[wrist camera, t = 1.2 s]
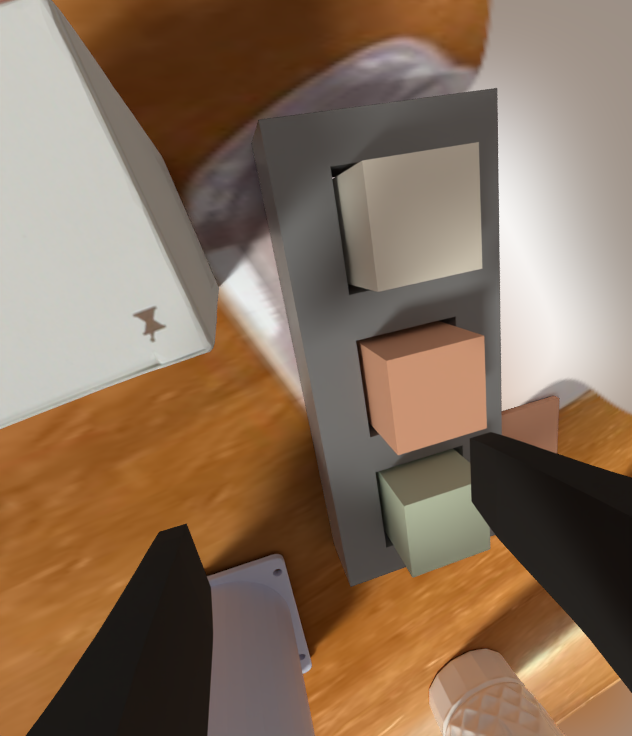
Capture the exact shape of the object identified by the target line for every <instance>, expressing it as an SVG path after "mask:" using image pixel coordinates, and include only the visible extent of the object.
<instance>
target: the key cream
mask: <svg viewBox="0 0 632 736" xmlns="http://www.w3.org/2000/svg"><path fill="white" fill-rule="evenodd" d="M332 181H333V188H334V195H335V202H336V208H337V215H338V222H339V229H340V236H341V242H342V249H343V256H344V263H345V270H346V276H347V283H348V284H350V285H354V286H358V287H361V288H365V289H369V290H373V291H376V292H380V291H384V290H389V289H393V288H398V287H402V286H407V285H411V284H416V283H420V282H425V281H429V280H434V279H438V278H443V277H447V276H451V275H456V274H460V273H465V272H469V271H474V270H478V269H482V237H481V202H480V167H479V142H476V143H470V144H463V145H457V146H451V147H444V148H438V149H432V150H426V151H419V152H413V153H407V154H400V155H394V156H388V157H382V158H375V159H369V160H363V161H361V162H359V163H357V164H356V165H354V166H353V167H351V168H349V169H348V170H346V171H345V172H343V173H341V174H340V175H338V176H337V177H335V178H333V179H332Z"/></svg>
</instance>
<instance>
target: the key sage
mask: <svg viewBox="0 0 632 736" xmlns="http://www.w3.org/2000/svg"><path fill="white" fill-rule="evenodd" d="M375 473H376V480H377V487H378V494H379V501H380V507H381V514H382V521H383V528H384V530H385V532H386V533H387V535H388V537H389V538H390V540H391V542H392V543H393V545H394V547H395V549H396V550H397V552H398V554H399V555H400V557H401V559H402V560H403V562H404V564H405V565H406V567H407V569H408V571H409V572H410V574H411V576H412V577H416V576H418V575H421V574H424V573H426V572H429V571H432V570H435V569H437V568H440V567H443V566H445V565H448V564H451V563H454V562H456V561H459V560H462V559H465V558H467V557H470V556H473V555H475V554H478V553H481V552H484V551H486V550H489V549H490V527H489V526H488V524H487V523H486V522H485V520H484V519H483V517H482V516H481V514H480V513H479V512H478V510H477V509H476V507H475V506H474V504H473V503H472V502H471V469H470V462H468V461H467V460H466V459H465V458H464V457H462V456H461V455H460V454H459V453H458V452H457V451H455V450H454V449H453V448H452V449H449V450H446V451H443V452H439V453H436V454H433V455H430V456H427V457H423V458H420V459H417V460H414V461H410V462H407V463H404V464H401V465H398V466H394V467H391V468H388V469H385V470H381V471H378V472H375Z"/></svg>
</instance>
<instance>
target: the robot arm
mask: <svg viewBox="0 0 632 736" xmlns="http://www.w3.org/2000/svg"><path fill="white" fill-rule="evenodd" d="M470 469H471V502H472V503H473V504H474V506H475V507H476V509H477V510H478V512H479V513H480V514H481V516H482V517H483V519H484V520H485V522H486V523H487V524H488V526H489V527H490V528H491V530H492V531H493V532H494V534H495V535H496V536H497V537H498V539H499V540H500V541H501V542H502V543H503V544H504V545H505V546H506V548H507V549H508V550H509V551H510V552H511V553H512V554H513V555H514V556H515V557H516V559H517V560H518V561H519V562H520V563H521V564H522V565H523V566H524V567H525V568H526V569H527V571H528V572H529V573H530V574H531V575H532V576H533V577H534V578H535V579H536V580H537V581H538V582H539V583H540V585H541V586H542V587H543V588H544V589H545V590H546V591H547V592H548V593H549V594H550V595H551V596H552V598H553V599H554V600H555V601H556V602H557V603H558V604H559V605H560V606H561V607H562V608H563V609H564V611H565V612H566V613H567V614H568V615H569V616H570V617H571V618H572V619H573V620H574V622H575V623H576V624H577V625H578V626H579V627H580V629H581V630H582V631H583V632H584V633H585V634H586V635H587V637H588V638H589V639H590V640H591V641H592V643H593V644H594V645H595V647H596V648H597V649H598V650H599V652H600V653H601V654H602V655H603V657H604V658H605V659H606V661H607V662H608V663H609V664H610V666H611V667H612V668H613V669H614V671H615V672H616V673H617V675H618V676H619V677H620V678H621V680H622V681H623V682H624V683H625V685H626V686H627V687H628V688H629V690H630V691H631V693H632V478H631V477H628V476H624V475H621V474H618V473H614V472H611V471H608V470H605V469H602V468H598V467H595V466H592V465H589V464H586V463H583V462H580V461H577V460H574V459H571V458H568V457H565V456H562V455H560V454H557V453H554V452H551V451H548V450H545V449H542V448H539V447H536V446H533V445H531V444H528V443H525V442H522V441H519V440H516V439H513V438H510V437H507V436H503V435H500V434H496V433H493V432H489V433H485V434H482V435H479V436H476V437H472V438H470ZM276 569H280V570H278V571H274V570H276ZM311 667H312V663H311V658H310V655H309V651H308V647H307V643H306V640H305V636H304V632H303V629H302V625H301V621H300V617H299V614H298V610H297V606H296V602H295V599H294V595H293V591H292V588H291V584H290V580H289V576H288V573H287V569H286V565H285V561H284V558H283V556H282V555H280V554H273V555H270V556H267V557H264V558H261V559H258V560H255V561H252V562H249V563H246V564H243V565H240V566H237V567H234V568H231V569H228V570H225V571H222V572H219V573H216V574H213V575H210V576H206V573H205V571H204V568H203V565H202V563H201V560H200V558H199V555H198V552H197V550H196V547H195V544H194V542H193V539H192V537H191V534H190V531H189V529H188V526H187V524H184V525H180V526H177V527H174V528H171V529H167V530H164V531H161V532H159V533H158V535H157V536H156V538H155V539H154V541H153V543H152V544H151V546H150V548H149V549H148V551H147V553H146V554H145V556H144V558H143V560H142V561H141V563H140V565H139V566H138V568H137V570H136V571H135V573H134V575H133V576H132V578H131V580H130V581H129V583H128V585H127V586H126V588H125V590H124V591H123V593H122V595H121V596H120V598H119V600H118V601H117V603H116V604H115V606H114V608H113V609H112V611H111V612H110V614H109V616H108V617H107V619H106V620H105V622H104V624H103V625H102V627H101V628H100V630H99V632H98V633H97V635H96V636H95V638H94V639H93V641H92V642H91V644H90V645H89V647H88V648H87V650H86V651H85V653H84V654H83V656H82V657H81V659H80V660H79V662H78V663H77V664H76V666H75V667H74V669H73V670H72V672H71V673H70V675H69V676H68V678H67V679H66V681H65V682H64V684H63V685H62V687H61V688H60V689H59V691H58V692H57V694H56V695H55V697H54V698H53V699H52V701H51V702H50V704H49V705H48V706H47V708H46V709H45V710H44V712H43V713H42V715H41V716H40V717H39V719H38V720H37V721H36V723H35V724H34V725H33V727H32V728H31V729H30V731H29V732H28V733H27V735H26V736H315V734H314V729H313V724H312V719H311V714H310V709H309V704H308V699H307V693H306V688H305V683H304V678H303V673H306V672H308V671H309V670H310V669H311Z"/></svg>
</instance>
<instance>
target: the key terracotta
mask: <svg viewBox="0 0 632 736" xmlns="http://www.w3.org/2000/svg"><path fill="white" fill-rule="evenodd" d="M356 344H357V351H358V358H359V365H360V372H361V378H362V385H363V392H364V399H365V406H366V412H367V419H368V422H369V423H370V424H371V425H372V426H373V427H374V429H375V430H376V431H377V432H378V433H379V434H380V435H381V437H382V438H383V439H384V440H385V441H386V442H387V444H388V445H389V446H390V447H391V448H392V449H393V450H394V452H395V453H396V454H397V455H401V454H404V453H407V452H411V451H414V450H417V449H421V448H424V447H427V446H430V445H434V444H437V443H440V442H443V441H447V440H450V439H453V438H457V437H460V436H463V435H466V434H470V433H473V432H476V431H479V430H483V429H486V428H487V414H486V379H485V344H484V335H481V334H478V333H474V332H471V331H468V330H465V329H462V328H459V327H456V326H453V325H450V324H447V323H444V322H440V321H435V322H430V323H426V324H422V325H418V326H414V327H410V328H406V329H402V330H398V331H394V332H390V333H385V334H381V335H377V336H373V337H369V338H365V339H361V340H357V341H356Z"/></svg>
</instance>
